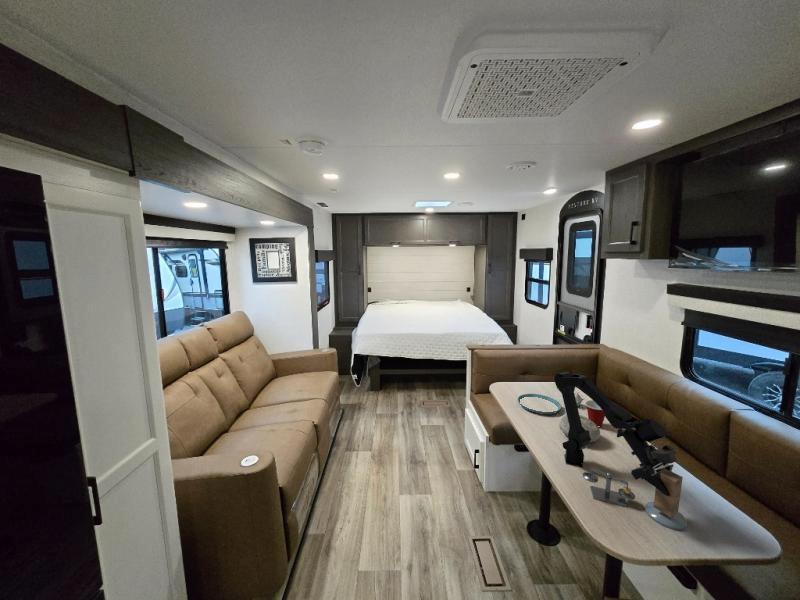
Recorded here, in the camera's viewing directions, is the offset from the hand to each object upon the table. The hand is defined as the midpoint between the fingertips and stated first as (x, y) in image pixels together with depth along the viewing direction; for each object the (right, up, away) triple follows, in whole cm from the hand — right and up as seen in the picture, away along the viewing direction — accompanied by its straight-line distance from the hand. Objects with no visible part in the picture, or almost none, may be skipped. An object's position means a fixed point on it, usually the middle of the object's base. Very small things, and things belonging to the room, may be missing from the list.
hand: (672, 493), depth 106 cm
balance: (-15, -8, +11) cm, 20 cm away
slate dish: (-1, -9, +2) cm, 10 cm away
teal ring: (-8, 0, +84) cm, 85 cm away
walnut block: (-1, -7, +2) cm, 7 cm away
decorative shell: (-3, -4, +51) cm, 52 cm away
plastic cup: (+13, -2, +63) cm, 65 cm away
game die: (+15, 0, +86) cm, 87 cm away
